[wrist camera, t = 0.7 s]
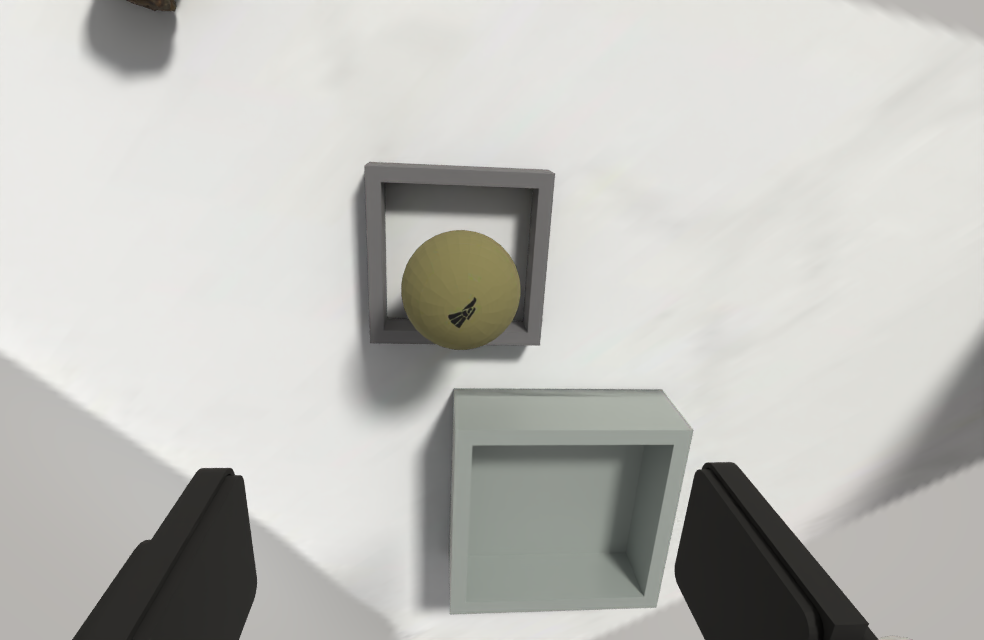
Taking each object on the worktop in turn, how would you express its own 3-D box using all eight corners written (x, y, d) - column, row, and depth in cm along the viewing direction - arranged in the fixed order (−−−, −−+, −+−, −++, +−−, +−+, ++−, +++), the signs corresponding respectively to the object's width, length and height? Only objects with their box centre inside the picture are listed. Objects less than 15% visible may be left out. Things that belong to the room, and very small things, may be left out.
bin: (662, 389, 37) (693, 430, 32) (632, 552, 42) (656, 607, 37) (453, 388, 36) (455, 430, 31) (449, 556, 41) (449, 614, 36)
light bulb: (482, 310, 34) (497, 387, 25) (396, 278, 33) (377, 345, 23) (519, 227, 32) (550, 276, 23) (430, 190, 31) (424, 225, 22)
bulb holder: (548, 169, 31) (555, 173, 29) (534, 332, 35) (539, 345, 33) (369, 161, 30) (364, 165, 28) (374, 330, 34) (370, 343, 32)
